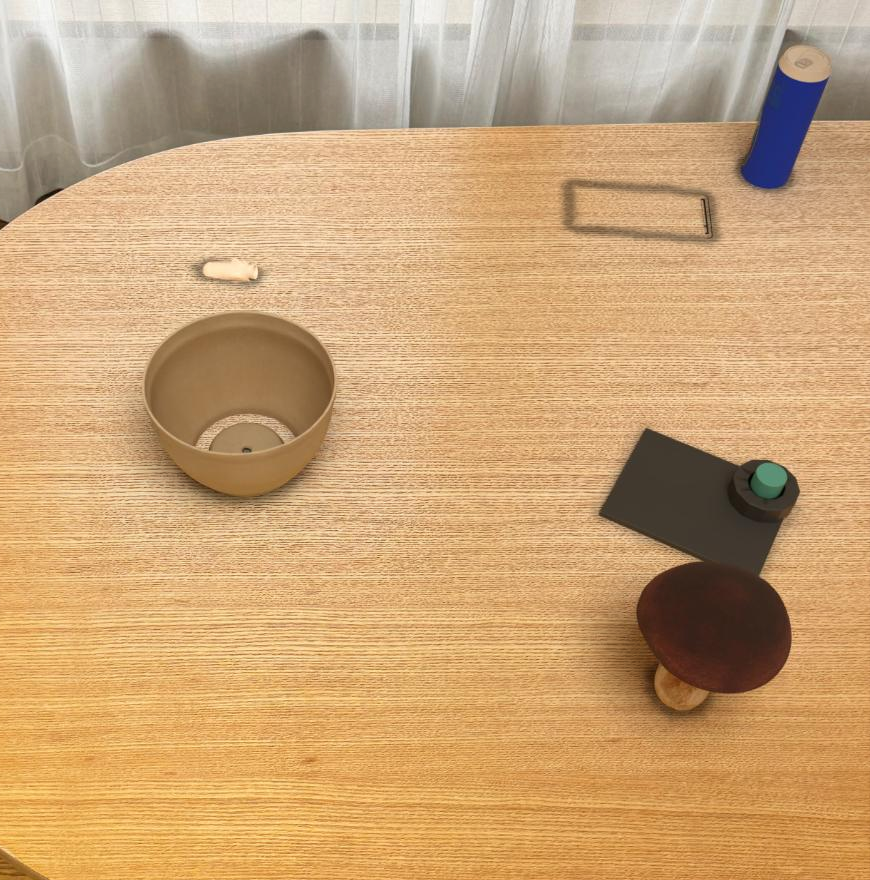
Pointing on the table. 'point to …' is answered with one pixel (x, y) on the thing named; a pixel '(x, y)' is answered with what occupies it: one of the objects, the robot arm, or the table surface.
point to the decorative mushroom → (712, 631)
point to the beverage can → (786, 116)
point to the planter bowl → (240, 398)
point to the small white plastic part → (231, 270)
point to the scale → (698, 502)
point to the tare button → (768, 480)
